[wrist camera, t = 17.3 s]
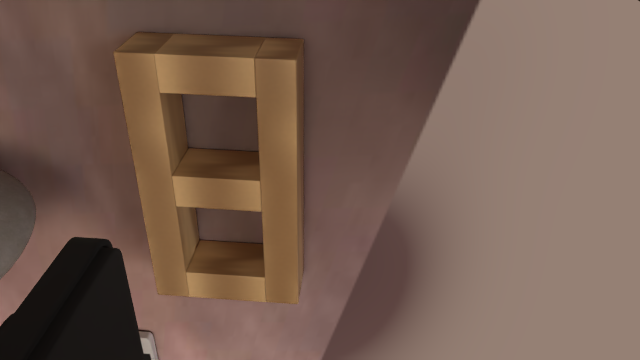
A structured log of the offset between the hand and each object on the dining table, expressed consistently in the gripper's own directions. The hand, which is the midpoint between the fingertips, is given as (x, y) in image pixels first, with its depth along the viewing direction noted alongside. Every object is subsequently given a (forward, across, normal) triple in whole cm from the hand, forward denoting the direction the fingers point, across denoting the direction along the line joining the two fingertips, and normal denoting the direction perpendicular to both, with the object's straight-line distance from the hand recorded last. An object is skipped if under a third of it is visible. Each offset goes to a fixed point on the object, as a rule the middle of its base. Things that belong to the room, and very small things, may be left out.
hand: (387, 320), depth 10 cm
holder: (+28, +10, +14) cm, 33 cm away
